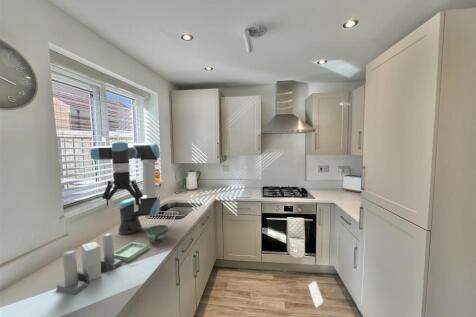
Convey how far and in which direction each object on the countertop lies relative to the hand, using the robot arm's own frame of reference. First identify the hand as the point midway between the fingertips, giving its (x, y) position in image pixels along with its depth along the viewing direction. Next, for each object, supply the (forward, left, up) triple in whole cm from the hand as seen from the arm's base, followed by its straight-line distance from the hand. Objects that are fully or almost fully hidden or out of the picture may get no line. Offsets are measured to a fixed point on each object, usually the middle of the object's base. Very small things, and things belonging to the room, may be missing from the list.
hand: (123, 211), depth 107 cm
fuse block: (-6, -14, -27) cm, 31 cm away
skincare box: (-6, -14, -28) cm, 32 cm away
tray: (-5, +7, -27) cm, 29 cm away
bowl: (0, +24, -28) cm, 37 cm away
